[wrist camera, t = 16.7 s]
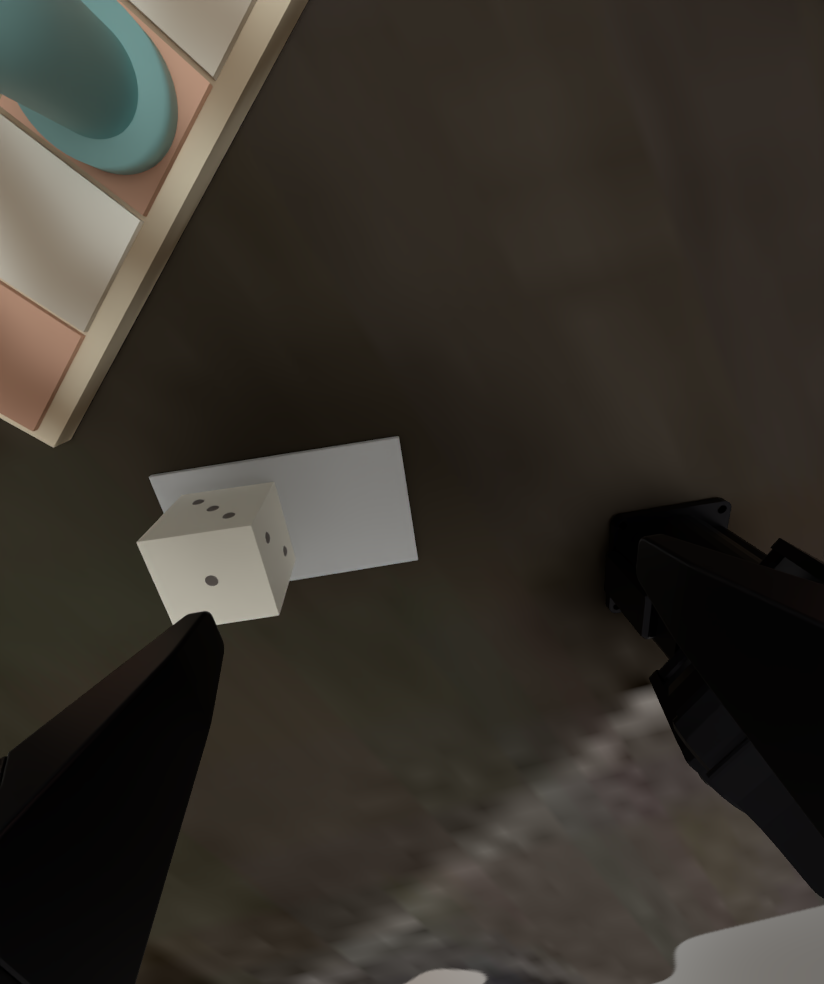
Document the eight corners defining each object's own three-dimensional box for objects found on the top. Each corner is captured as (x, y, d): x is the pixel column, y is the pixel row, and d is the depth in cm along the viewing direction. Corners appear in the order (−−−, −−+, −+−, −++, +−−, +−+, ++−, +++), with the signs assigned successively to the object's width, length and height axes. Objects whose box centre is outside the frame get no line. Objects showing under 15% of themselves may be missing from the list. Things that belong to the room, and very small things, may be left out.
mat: (398, 435, 21) (399, 437, 21) (417, 557, 24) (418, 560, 24) (151, 474, 21) (148, 477, 21) (200, 592, 24) (198, 596, 24)
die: (275, 479, 21) (252, 523, 17) (297, 559, 23) (281, 616, 19) (181, 493, 21) (134, 541, 17) (210, 571, 23) (174, 632, 19)
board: (141, -245, 13) (112, -312, 11) (329, -38, 15) (324, -72, 13) (-88, 348, 18) (-126, 353, 17) (70, 439, 20) (49, 450, 19)
